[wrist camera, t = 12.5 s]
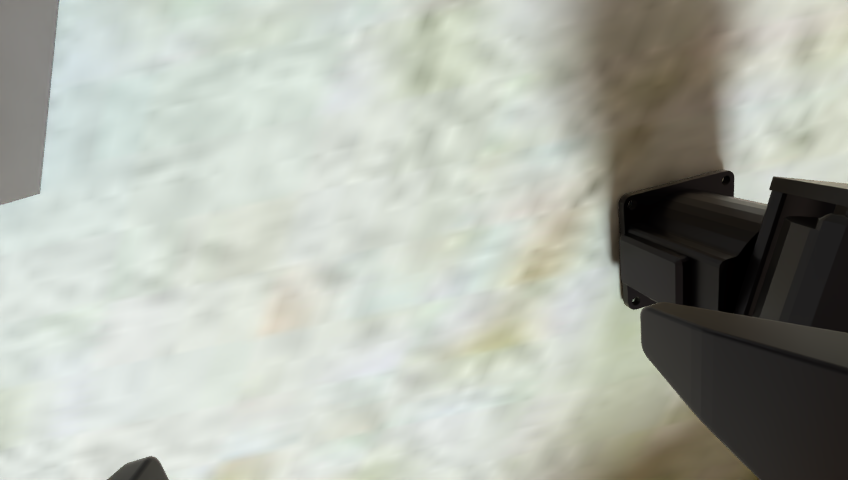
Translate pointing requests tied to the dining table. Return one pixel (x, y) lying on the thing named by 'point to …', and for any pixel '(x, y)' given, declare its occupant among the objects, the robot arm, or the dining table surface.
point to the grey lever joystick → (24, 92)
